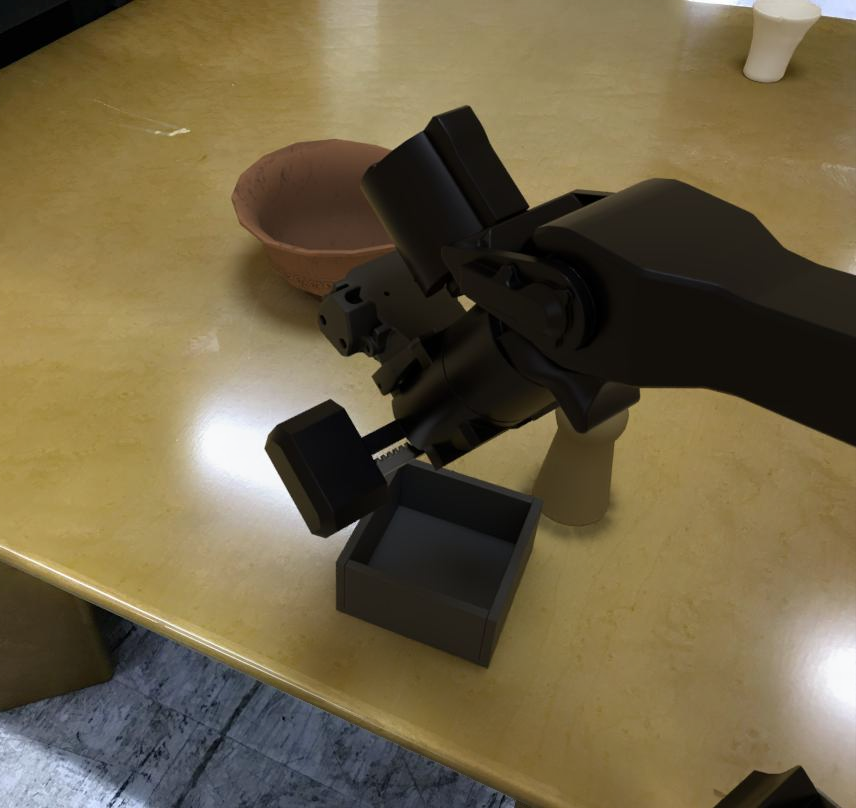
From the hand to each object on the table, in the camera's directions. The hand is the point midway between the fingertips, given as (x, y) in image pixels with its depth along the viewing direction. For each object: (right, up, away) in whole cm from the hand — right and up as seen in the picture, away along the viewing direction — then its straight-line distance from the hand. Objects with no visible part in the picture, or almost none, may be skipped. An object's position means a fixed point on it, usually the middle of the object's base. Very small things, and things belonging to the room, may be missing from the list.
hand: (379, 453), depth 57 cm
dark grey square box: (+5, -10, +10) cm, 15 cm away
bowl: (-1, +16, +38) cm, 42 cm away
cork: (+16, -4, +16) cm, 23 cm away
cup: (+61, +51, +74) cm, 109 cm away
